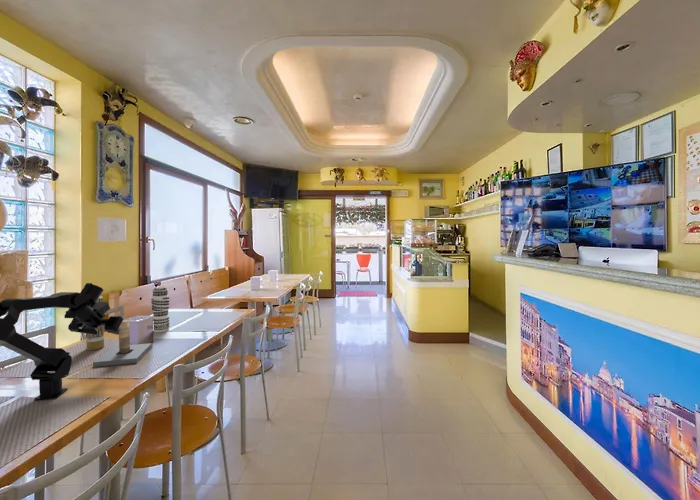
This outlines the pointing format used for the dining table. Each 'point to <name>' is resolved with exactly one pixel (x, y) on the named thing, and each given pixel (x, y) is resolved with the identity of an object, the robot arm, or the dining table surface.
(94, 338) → the grey patterned cylinder
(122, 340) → the beech peg
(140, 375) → the dining table surface
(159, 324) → the decorative candle
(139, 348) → the grey peg hole board
